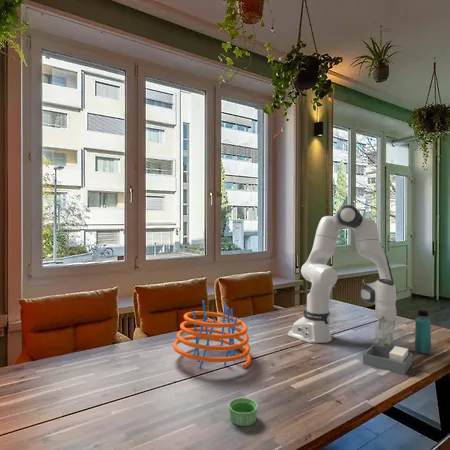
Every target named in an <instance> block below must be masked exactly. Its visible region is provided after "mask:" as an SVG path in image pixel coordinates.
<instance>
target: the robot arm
mask: <svg viewBox="0 0 450 450" xmlns="http://www.w3.org/2000/svg"><path fill="white" fill-rule="evenodd" d="M345 229H346V230H347V229H352V230H353V232H354V237H355V240H354V241H355V248H356V249H355V250H356V252H357V253H358V254H359V255H360V256H361V257H362V258H364V259H366V260H368V261H371V262H373V263H374V264H375V266H376V268H377V271H378V276H379V278H378V279H377V280H376V281H373V282H371V283H370V282H369V283H365V284H363V285H362V286H361V287H360V289H359V295H360V299H361V300H362V301H363V302H364V303H366V304H371V305H372V304H374V305H375V309H374V315H375V316H374V317H375V319H377V321H376V323H375V328H374V329H375V331H374V332H375V334H374V337H375V339H376V340H378V339H379V341H380V346H382V347H384V346H385V341H384V340H385V338H386V337H387V336H388V335H389V334H390V333H392V332H393V331H395V328H396V320H397V316H398V311H397V306H396V302H397V298H398V297H397V296H398V288H397V287H396V284H395V281H394V279H393V275H392V271H391V270H392V269H391V266H390V263H389V258H388V255H387V254H386V252H385V251H384V250H383V248H382V245H381V241H380V235H379V229H378V226H377V223H376V221H375V219H372V218H367V217H365V218H364V216H363V215H362V213H361V212H360V210H359V209H358V208H356V207H355V206H354V205H351V204H345V205H343V206H341V207H339V208H338V210H337V211H336V214H335V215H332V216H331V215H325V216H323V217H322V218H321V219H320V220H319V222H318V224H317V228H316V231H315V234H314V235H315V236H314V240H313V244H312V249H311V251H310V254H309V256H308V258H307V260H306V261H305V262H304V264H302V266H301V267H300V268H301V269H300V274H301V276H302V277H303V279H305V280H306V281H307V282H310V283H311V287H310V291H309V292H308V293H307V295H306V309H305V310H303V311H302V312H301V314H302V315H303V316H302V317H300V318H298V319H297V320H295V321H294V323H293V324H292V327H291V328H292V329H290V330H289V331H288V332H287V336H289V337H291V338H295V339H297V340H300V341H302V342H306V343H308V344H316V343H323V344H324V343H329V342H331V341H332V340H333V338H332V334H331V330H330V329H331V327H330V322H331V313H330V312H331V311H330V297H331V291H332V289H333V288H334V287H333V286H335V285H336V283H337V281H338V277H339V276H338V273H337V271H336V270H335V268H333V267H331V266H330V265H329V264H328V262H329V260H330V259H331V257H333V256H334V254H335V251H336V247H337V242H338V237H339V233H340V230H345Z"/></svg>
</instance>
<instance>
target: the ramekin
mask: <svg viewBox="0 0 450 450" xmlns="http://www.w3.org/2000/svg"><path fill="white" fill-rule="evenodd" d="M258 408H259V406H258V404H257V402H256V401H255V400H254V399H252V398H248V397H237V398H234V399H232V400H231V401H230V402H229V403H228V409H229V418H230V421H231V422H232V423H233V424H234V425H236V426H240V427H247V426H248V427H249V426H251V425H253V424H254V423H256V421H257V414H258V411H257V410H258Z"/></svg>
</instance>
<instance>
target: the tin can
mask: <svg viewBox="0 0 450 450" xmlns="http://www.w3.org/2000/svg"><path fill="white" fill-rule="evenodd" d="M384 341H385V346H384V347H386V348H390V349H393V348H394V346H393V345H394V344H393V343H394V334H393V333H392V332H391V333H390V334H389V335H388V336H387V337H386V338H385V340H384ZM377 346H380V341H379V339H377Z"/></svg>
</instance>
